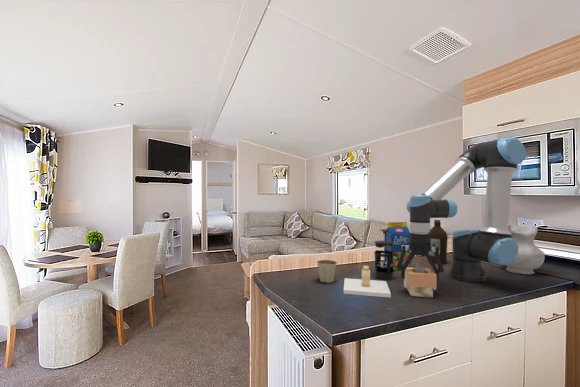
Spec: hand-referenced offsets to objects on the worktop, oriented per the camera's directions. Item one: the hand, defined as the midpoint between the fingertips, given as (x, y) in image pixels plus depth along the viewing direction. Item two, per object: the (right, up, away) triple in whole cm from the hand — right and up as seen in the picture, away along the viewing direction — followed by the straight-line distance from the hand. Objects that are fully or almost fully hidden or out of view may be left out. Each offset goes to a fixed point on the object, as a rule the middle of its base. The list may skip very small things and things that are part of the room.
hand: (419, 287), depth 113 cm
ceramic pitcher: (+67, -3, +33) cm, 75 cm away
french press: (-7, -2, +22) cm, 23 cm away
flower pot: (-35, -2, +15) cm, 39 cm away
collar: (0, +2, 0) cm, 2 cm away
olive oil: (+34, -3, +52) cm, 62 cm away
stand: (0, -2, 0) cm, 2 cm away
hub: (-20, -2, +5) cm, 21 cm away
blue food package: (+6, -3, +38) cm, 38 cm away
